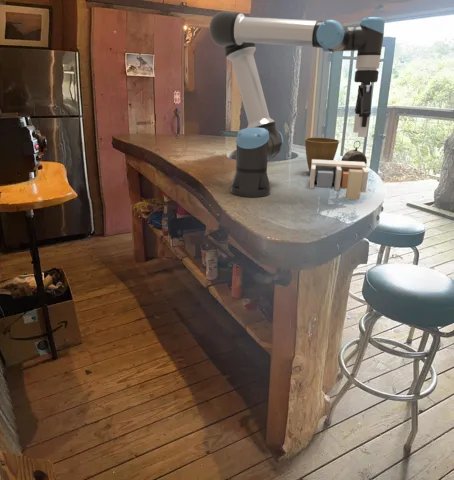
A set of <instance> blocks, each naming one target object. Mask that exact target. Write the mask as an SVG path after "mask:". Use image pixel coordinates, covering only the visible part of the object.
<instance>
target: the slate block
mask: <svg viewBox="0 0 454 480" xmlns="http://www.w3.org/2000/svg"><path fill="white" fill-rule="evenodd" d="M332 180H333V170H318V174H317V181H316V183H317V184H316V187H317V188H328V187H329V188H332V187H333V182H332Z"/></svg>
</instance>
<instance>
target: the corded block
mask: <svg viewBox="0 0 454 480" xmlns="http://www.w3.org/2000/svg"><path fill="white" fill-rule="evenodd" d="M362 176H363V171H362V170H355V169H349V171H343V172H342V180H341V183H340V188H341V189H344V190H345V189H346V191H345V198H346V199H349V200H351V199H352V200H360V196H361V195H360V194H361V183H362Z"/></svg>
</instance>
